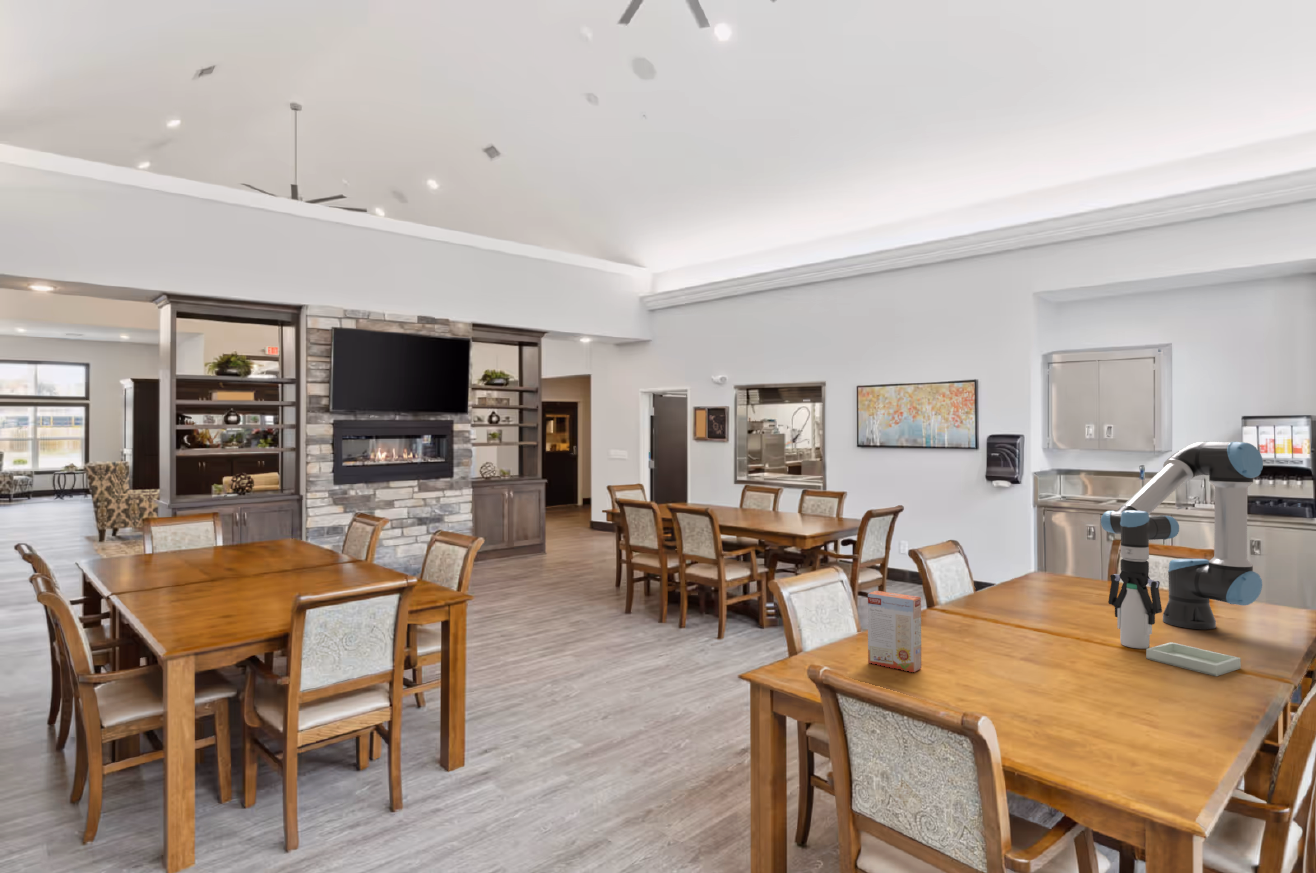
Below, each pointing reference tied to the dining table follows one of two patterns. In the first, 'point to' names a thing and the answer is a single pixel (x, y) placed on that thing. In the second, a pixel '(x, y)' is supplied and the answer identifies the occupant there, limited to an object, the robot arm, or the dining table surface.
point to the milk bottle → (1133, 620)
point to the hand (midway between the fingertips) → (1134, 630)
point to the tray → (1193, 658)
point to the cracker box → (894, 630)
